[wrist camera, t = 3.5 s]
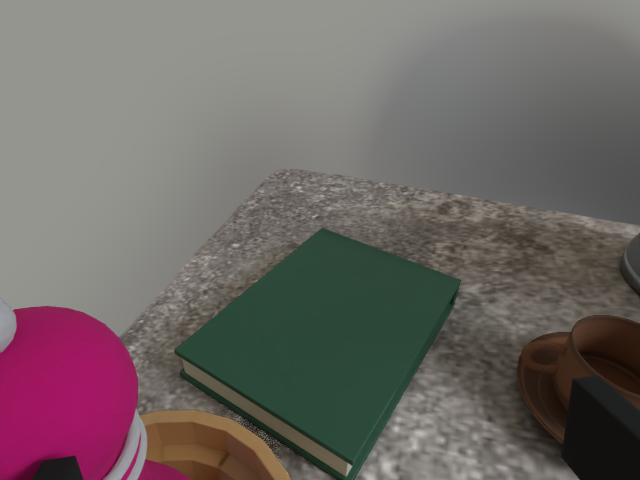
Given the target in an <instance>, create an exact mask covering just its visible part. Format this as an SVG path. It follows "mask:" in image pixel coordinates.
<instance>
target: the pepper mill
mask: <svg viewBox="0 0 640 480" xmlns="http://www.w3.org/2000/svg"><path fill="white" fill-rule="evenodd" d="M137 399H138V377H137V374H136V370H135V367H134V364H133V362H132V359H131V357H130V354H129V352H128V350H127V349H126V347H125V346H124V344H123V343H122V342H121V340H120V339H119V337H118V336H117V335H116V334H114V332H112V331H111V330H110V329H109V328H108V327H107V326H106V325H105V324H104V323H102V322H100V321H98V320H97V319H95V318H93V317H91V316H89V315H87V314H85V313H83V312H80V311H76V310H73V309H69V308H61V307H50V306H42V307H30V308H22V309H15V310H12V308H11V307H10V306H9V305H8V304H7V303H6V302H5V301H4V300H2V299H0V480H32V478H33V476H34V474H35V473H36V471H37V469H38V468H39V466H40V464H41V462H42V461H43V460H49V459H55V458H62V457H68V456H75V455H76V458H77V461H78V464H79V467H80V470H81V474H82V477H83V480H191V479H190V478H188V477H187V476H186V475H184V474H183V473H181V472H179V471H178V470H176V469H174V468H172V467H171V466H168V465H165V464H162V463H158V462H155V461H151V460H147V459H146V452H147V433H146V429H145V426H144V423H143V422H142V420H141V418H140V417H139V414H138V411H137V409H136V407H137Z"/></svg>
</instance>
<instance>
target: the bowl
mask: <svg viewBox="0 0 640 480" xmlns="http://www.w3.org/2000/svg"><path fill="white" fill-rule="evenodd" d="M139 417H140V418H141V420H142V422H143V423H144V426H145V429H146V433H147V452H146V459H147V460H151V461H155V462H158V463H162V464H165V465H168V466H171V467H172V468H174V469H176V470H178V471H179V472H181V473H183V474H184V475H186V476H187V477H188V478H190V479H191V480H291V479H290V476H289V474H288V472H287V471H286V469H285V468H284V467H283V465H282V464H281V463H280V461H279V460H278V459H277V457H276V456H275V455H274V453H273V452H272V451H271V449H270V448H269V447H268V445H267V444H266V443H265V442H264V440H263V439H261V438H260V437H258V436H257V435H255V434H254V433H252V432H251V431H249V430H248V429H246V428H245V427H243V426H242V425H240V424H239V423H237V422H236V421H234V420H232V419H229V418H225V417H222V416H218V415H214V414H211V413H207V412H203V411H199V410H171V411H157V412H156V411H154V412H151V413H147V414H144V415H140V416H139Z"/></svg>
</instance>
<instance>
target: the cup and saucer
mask: <svg viewBox="0 0 640 480" xmlns="http://www.w3.org/2000/svg"><path fill="white" fill-rule="evenodd" d="M596 375H598V376H599V377H601V378H602V379H603V380H604V381H605V382H607V383H608V384H609V385H610V386H611V387H613V388H614V389H615V390H616V391H617V392H619V393H620V394H621V395H622V396H623V397H625V398H626V399H627V400H628V401H629V402H631V403H632V404H633V405H634V406H635V407H637V408H638V409H639V410H640V323H637V322H635V321H632V320H629V319H625V318H621V317H616V316H610V315H594V316H589V317H585V318H583V319H581V320H579V321H578V322H577V323H576V324H575V325H574V327H573V329H572V331H571V332H557V333H550V334H546V335H542V336H540V337H537V338H536V339H534V340H532V341H531V342H530V343H528V344H527V345H526V346H525V347H524V348H523V349H522V352H521V355H520V357H519V361H518V367H517V377H518V383H519V387H520V391H521V393H522V396H523V398H524V400H525V402H526V404H527V406H528V407H529V409H530V411H531V412H532V413H533V415H534V416H535V418H536V419H537V420H538V421H539V422H540V424H541V425H542V426H543V427H544V428H545V429H546V430H547V431H548V432H549V433H550V434H551V435H552V436H553V437H554V438H555V439H556V440H558V441H559V442H560V443H561V444H563V441H564V434H565V427H566V420H567V413H568V406H569V399H570V392H571V385H572V379H576V378H583V377H589V376H596Z"/></svg>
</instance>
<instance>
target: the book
mask: <svg viewBox="0 0 640 480" xmlns="http://www.w3.org/2000/svg"><path fill="white" fill-rule="evenodd" d="M460 283H461V280H460V279H457V278H454V277H452V276H449V275H446V274H444V273H441V272H438V271H436V270H433V269H430V268H428V267H425V266H422V265H420V264H417V263H414V262H412V261H409V260H406V259H404V258H401V257H398V256H396V255H393V254H391V253H388V252H385V251H383V250H380V249H377V248H375V247H372V246H369V245H367V244H364V243H361V242H359V241H356V240H353V239H351V238H348V237H345V236H343V235H340V234H337V233H335V232H332V231H329V230H327V229H324V228H322V229H320V230H319V231H318V232H317V233H315V234H314V235H313V236H312V237H311V238H309V239H308V240H307V241H306V242H305V243H303V244H302V245H301V246H300V247H298V248H297V249H296V250H295V251H294V252H292V253H291V254H290V255H289V256H288V257H286V258H285V259H284V260H283V261H282V262H280V263H279V264H278V265H277V266H275V267H274V268H273V269H272V270H271V271H269V272H268V273H267V274H266V275H265V276H263V277H262V278H261V279H260V280H258V281H257V282H256V283H255V284H254V285H252V286H251V287H250V288H249V289H248V290H246V291H245V292H244V293H243V294H242V295H240V296H239V297H238V298H237V299H235V300H234V301H233V302H232V303H231V304H229V305H228V306H227V307H226V308H225V309H223V310H222V311H221V312H220V313H219V314H217V315H216V316H215V317H214V318H212V319H211V320H210V321H209V322H208V323H206V324H205V325H204V326H203V327H202V328H200V329H199V330H198V331H197V332H196V333H194V334H193V335H192V336H191V337H189V338H188V339H187V340H186V341H185V342H183V343H182V344H181V345H180V346H179V347H177V348H176V349H175V354H176V355H178V356H179V357H181V358H182V360H183V365H184V369H183V370H181V371H180V376H181V377H183V378H184V379H186V380H187V381H189V382H190V383H192V384H193V385H195V386H196V387H198V388H199V389H201V390H202V391H204V392H205V393H207V394H208V395H210V396H212V397H213V398H215V399H216V400H218V401H219V402H221V403H222V404H224V405H225V406H227V407H228V408H230V409H231V410H233V411H234V412H236V413H237V414H239V415H240V416H242V417H243V418H245V419H246V420H248V421H249V422H251V423H253V424H254V425H256V426H257V427H259V428H260V429H262V430H263V431H265V432H266V433H268V434H269V435H271V436H272V437H274V438H275V439H277V440H278V441H280V442H281V443H283V444H284V445H286V446H287V447H289V448H290V449H292V450H293V451H295V452H297V453H298V454H300V455H301V456H303V457H304V458H306V459H307V460H309V461H310V462H312V463H313V464H315V465H316V466H318V467H319V468H321V469H322V470H324V471H325V472H327V473H328V474H330V475H331V476H333V477H334V478H336V479H338V480H354V479H355V477H356V475H357V474H358V472H359V470H360V468H361V467H362V465H363V463H364V461H365V460H366V458H367V456H368V454H369V453H370V451H371V449H372V447H373V446H374V444H375V442H376V440H377V439H378V437H379V435H380V433H381V432H382V430H383V428H384V426H385V425H386V423H387V421H388V419H389V418H390V416H391V414H392V412H393V411H394V409H395V407H396V405H397V404H398V402H399V400H400V398H401V397H402V395H403V393H404V391H405V390H406V388H407V386H408V384H409V383H410V381H411V379H412V377H413V376H414V374H415V372H416V371H417V369H418V367H419V365H420V364H421V362H422V360H423V358H424V357H425V355H426V353H427V351H428V350H429V348H430V346H431V344H432V343H433V341H434V339H435V337H436V336H437V334H438V332H439V330H440V329H441V327H442V325H443V323H444V322H445V320H446V318H447V316H448V315H449V313H450V311H451V309H452V308H453V306H454V304H455V300H456V297H457V293H458V290H459V286H460Z"/></svg>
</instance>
